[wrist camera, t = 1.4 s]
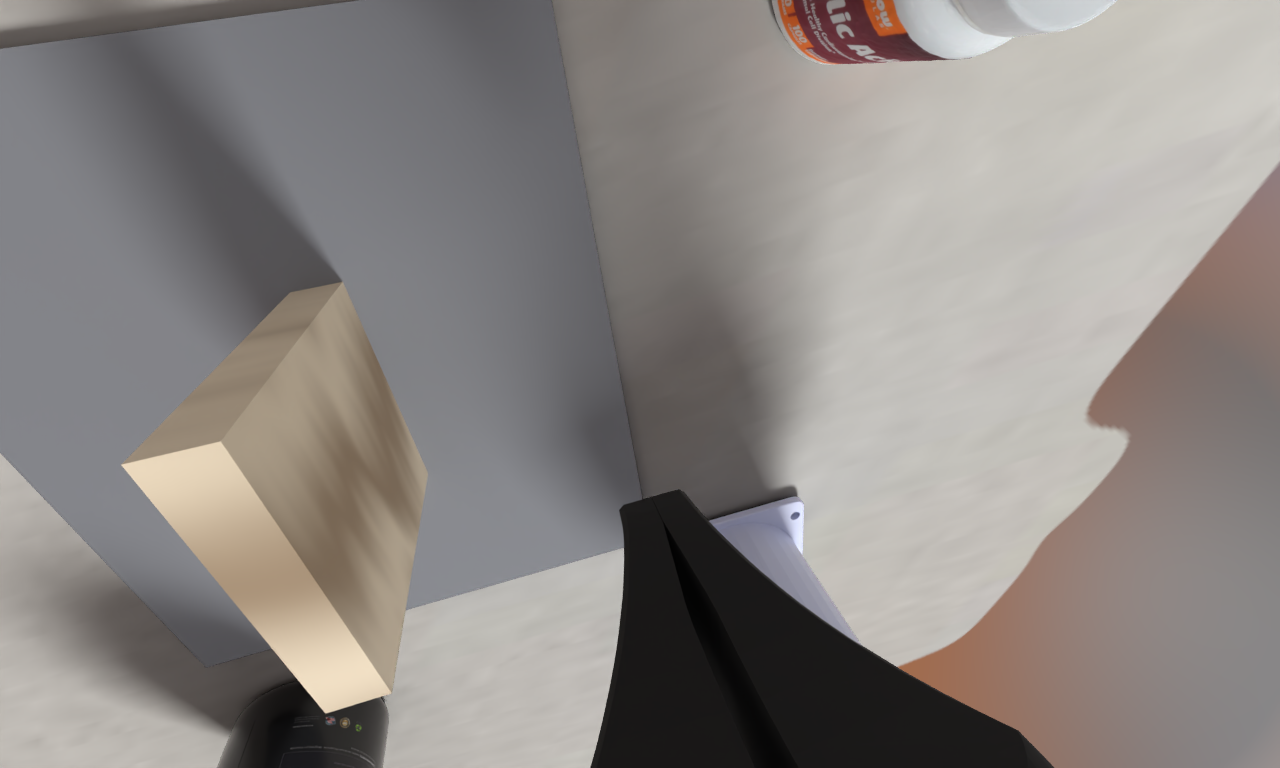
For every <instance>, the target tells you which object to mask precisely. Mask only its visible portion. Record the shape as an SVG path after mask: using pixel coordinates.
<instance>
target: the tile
mask: <svg viewBox="0 0 1280 768" xmlns="http://www.w3.org/2000/svg"><path fill="white" fill-rule="evenodd" d="M121 465H122V467H123V468H124V469H125V470H126V471H127V473H128V474H129V475H130V476H131V478H132V479H133V480H134V481H135V482H136V484H137V485H138V486H139V487H140V488H141V490H142V491H143V492H144V493H145V495H146V496H147V497H148V498H149V499H150V501H151V502H152V503H153V504H154V506H155V507H156V508H157V509H158V510H159V512H160V513H161V514H162V515H163V516H164V518H165V519H166V520H167V521H168V523H169V524H170V525H171V526H172V527H173V529H174V530H175V531H176V532H177V533H178V535H179V536H180V537H181V538H182V540H183V541H184V542H185V543H186V544H187V546H188V547H189V548H190V549H191V551H192V552H193V553H194V554H195V555H196V557H197V558H198V559H199V560H200V561H201V563H202V564H203V565H204V566H205V568H206V569H207V570H208V571H209V572H210V574H211V575H212V576H213V577H214V578H215V580H216V581H217V582H218V583H219V585H220V586H221V587H222V588H223V589H224V591H225V592H226V593H227V594H228V596H229V597H230V598H231V599H232V600H233V602H234V603H235V604H236V605H237V606H238V608H239V609H240V610H241V611H242V613H243V614H244V615H245V616H246V617H247V619H248V620H249V621H250V622H251V623H252V625H253V626H254V627H255V628H256V630H257V631H258V632H259V633H260V634H261V636H262V637H263V638H264V639H265V641H266V642H267V643H268V644H269V645H270V647H271V648H272V649H273V650H274V651H275V653H276V654H277V655H278V656H279V658H280V659H281V660H282V661H283V662H284V664H285V665H286V666H287V667H288V668H289V670H290V671H291V672H292V673H293V675H294V676H295V677H296V678H297V679H298V681H299V682H300V683H301V684H302V686H303V687H304V688H305V689H306V690H307V692H308V693H309V694H310V695H311V696H312V698H313V699H314V700H315V701H316V703H317V704H318V705H319V706H320V707H321V709H322V710H323V711H324V712H325V713H329V712H333V711H336V710H339V709H342V708H346V707H349V706H352V705H355V704H359V703H362V702H365V701H368V700H372V699H375V698H378V697H381V696H385V695H388V694H391V693H392V689H393V683H394V677H395V671H396V665H397V658H398V652H399V646H400V640H401V634H402V628H403V622H404V616H405V610H406V604H407V598H408V592H409V586H410V580H411V574H412V568H413V562H414V556H415V550H416V544H417V538H418V532H419V526H420V519H421V513H422V507H423V501H424V495H425V489H426V483H427V477H428V472H427V470H426V468H425V465H424V463H423V461H422V459H421V456H420V454H419V452H418V450H417V447H416V445H415V443H414V441H413V438H412V436H411V434H410V432H409V429H408V427H407V425H406V423H405V420H404V418H403V416H402V414H401V411H400V409H399V407H398V405H397V402H396V400H395V398H394V396H393V393H392V391H391V389H390V387H389V385H388V382H387V380H386V378H385V376H384V373H383V371H382V369H381V367H380V364H379V362H378V360H377V358H376V355H375V353H374V351H373V349H372V346H371V344H370V342H369V340H368V337H367V335H366V333H365V331H364V328H363V326H362V324H361V322H360V319H359V317H358V315H357V313H356V310H355V308H354V306H353V304H352V301H351V299H350V297H349V295H348V292H347V290H346V288H345V286H344V284H343V282H339V283H334V284H329V285H324V286H319V287H314V288H310V289H305V290H300V291H295V292H290V293H289V294H288V295H287V296H286V297H285V298H284V299H283V300H282V301H281V302H280V303H279V304H278V305H277V306H276V307H275V308H274V309H273V310H272V311H271V312H270V313H269V314H268V315H267V316H266V317H265V318H264V319H263V320H262V322H261V323H260V324H259V325H258V326H257V327H256V328H255V329H254V330H253V331H252V332H251V333H250V334H249V335H248V336H247V337H246V338H245V339H244V340H243V341H242V342H241V343H240V344H239V345H238V346H237V347H236V348H235V349H234V350H233V351H232V352H231V353H230V354H229V355H228V356H227V357H226V358H225V359H224V360H223V361H222V362H221V363H220V364H219V365H218V366H217V367H216V368H215V369H214V370H213V371H212V373H211V374H210V375H209V376H208V377H207V378H206V379H205V380H204V381H203V382H202V383H201V384H200V385H199V386H198V387H197V388H196V389H195V390H194V391H193V392H192V393H191V394H190V395H189V396H188V397H187V398H186V399H185V400H184V401H183V402H182V403H181V404H180V405H179V406H178V407H177V408H176V409H175V410H174V411H173V412H172V413H171V414H170V415H169V416H168V417H167V418H166V419H165V420H164V421H163V423H162V424H161V425H160V426H159V427H158V428H157V429H156V430H155V431H154V432H153V433H152V434H151V435H150V436H149V437H148V438H147V439H146V440H145V441H144V442H143V443H142V444H141V445H140V446H139V447H138V448H137V449H136V450H135V451H134V452H133V453H132V454H131V455H130V456H129V457H128V458H127V459H126V460H125V461H124V462H123V463H122V464H121Z"/></svg>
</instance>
